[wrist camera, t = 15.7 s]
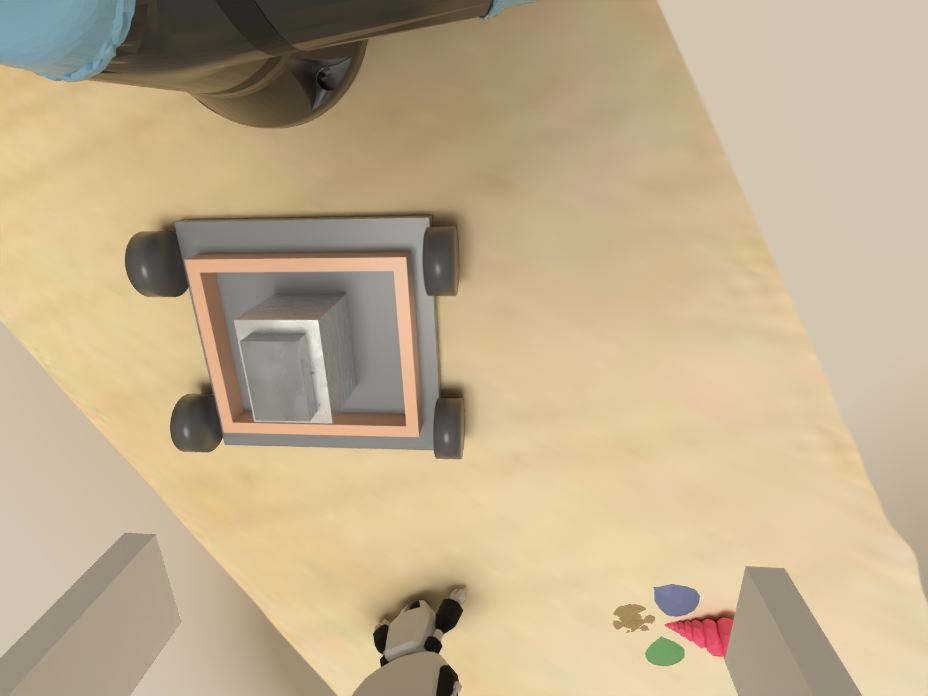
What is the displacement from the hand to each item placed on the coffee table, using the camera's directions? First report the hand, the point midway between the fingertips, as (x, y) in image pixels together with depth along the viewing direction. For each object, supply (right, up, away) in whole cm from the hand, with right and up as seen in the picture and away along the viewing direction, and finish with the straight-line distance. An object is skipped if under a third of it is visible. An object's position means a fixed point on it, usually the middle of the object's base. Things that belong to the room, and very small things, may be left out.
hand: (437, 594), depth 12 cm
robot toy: (-4, -21, +44) cm, 49 cm away
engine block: (-12, +6, +32) cm, 34 cm away
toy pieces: (+21, -22, +41) cm, 52 cm away
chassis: (-12, +6, +33) cm, 35 cm away
